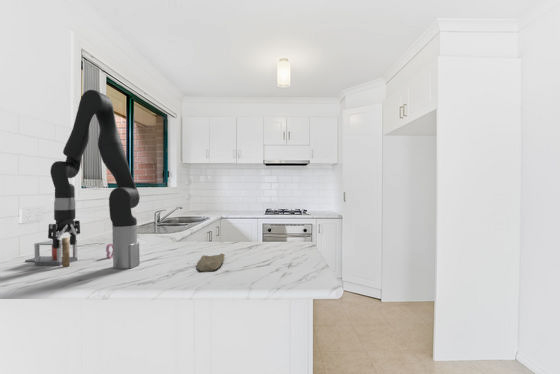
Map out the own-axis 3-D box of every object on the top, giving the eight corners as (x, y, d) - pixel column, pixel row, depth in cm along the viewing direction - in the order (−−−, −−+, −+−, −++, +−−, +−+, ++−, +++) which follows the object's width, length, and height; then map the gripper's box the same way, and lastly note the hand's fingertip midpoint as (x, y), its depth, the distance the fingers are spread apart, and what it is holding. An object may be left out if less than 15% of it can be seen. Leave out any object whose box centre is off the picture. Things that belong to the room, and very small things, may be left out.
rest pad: (55, 258, 152) (55, 256, 152) (40, 262, 144) (40, 260, 144) (40, 257, 153) (40, 256, 153) (25, 261, 145) (25, 260, 145)
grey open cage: (77, 260, 147) (76, 239, 147) (59, 265, 137) (59, 243, 137) (54, 259, 149) (53, 239, 149) (34, 265, 139) (34, 243, 139)
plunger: (62, 258, 144) (62, 243, 144) (56, 259, 141) (56, 245, 141) (56, 258, 145) (56, 243, 145) (50, 259, 142) (50, 244, 142)
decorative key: (131, 256, 168) (107, 258, 148) (129, 256, 168) (105, 258, 148) (132, 243, 169) (108, 243, 149) (130, 243, 169) (106, 243, 150)
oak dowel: (71, 265, 137) (70, 237, 137) (66, 267, 134) (65, 238, 134) (65, 265, 137) (65, 237, 137) (61, 267, 135) (60, 238, 135)
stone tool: (201, 258, 148) (193, 273, 123) (201, 252, 148) (193, 266, 123) (225, 257, 149) (222, 272, 124) (225, 251, 149) (222, 265, 124)
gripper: (59, 209, 128) (59, 250, 128) (85, 207, 142) (85, 243, 142) (42, 209, 129) (42, 249, 129) (70, 207, 143) (70, 243, 143)
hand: (64, 246), depth 136 cm, fingers open, 8 cm apart
